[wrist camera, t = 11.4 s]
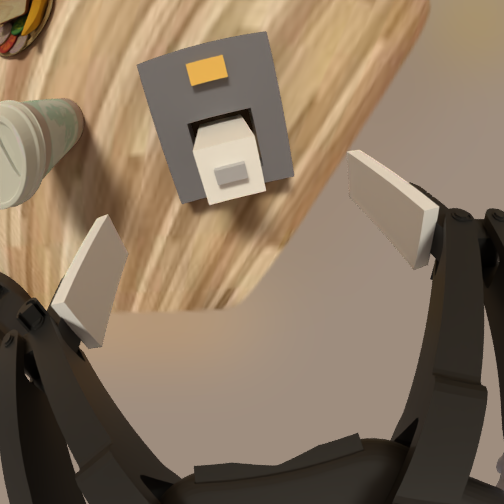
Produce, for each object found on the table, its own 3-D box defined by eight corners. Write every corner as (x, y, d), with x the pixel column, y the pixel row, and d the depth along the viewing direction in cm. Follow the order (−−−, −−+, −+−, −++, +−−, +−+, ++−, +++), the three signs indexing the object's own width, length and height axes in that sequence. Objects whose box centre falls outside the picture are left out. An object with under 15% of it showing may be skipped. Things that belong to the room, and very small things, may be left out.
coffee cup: (94, 163, 25) (39, 219, 15) (32, 162, 23) (-31, 213, 13) (99, 83, 20) (31, 98, 11) (32, 89, 18) (-43, 113, 9)
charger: (210, 161, 27) (209, 209, 19) (199, 124, 25) (192, 154, 16) (248, 151, 27) (267, 194, 19) (240, 114, 25) (255, 137, 16)
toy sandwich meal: (-12, 60, 14) (-30, 64, 11) (9, -14, 8) (-7, -17, 6) (43, 51, 16) (25, 52, 14) (70, -30, 11) (55, -38, 8)
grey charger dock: (184, 191, 29) (181, 207, 26) (144, 65, 20) (134, 64, 17) (286, 166, 28) (296, 179, 25) (260, 35, 20) (268, 30, 17)
